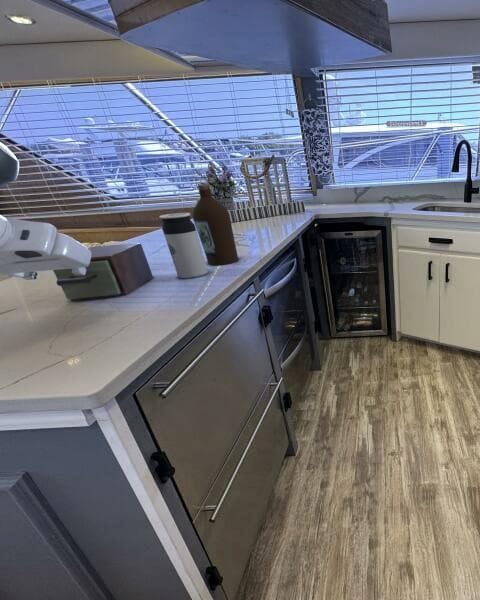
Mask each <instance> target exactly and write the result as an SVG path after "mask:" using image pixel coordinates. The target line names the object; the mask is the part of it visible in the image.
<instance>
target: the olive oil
mask: <svg viewBox="0 0 480 600" xmlns="http://www.w3.org/2000/svg"><path fill="white" fill-rule="evenodd" d="M197 188H198V194H199V200H198V201H197V203H196V205H195V206H194V208H193V210H192V220H193V224H194V225H195V228H196V231H197V235H198V238H199V241H200V244H201V247H202V250H203V251H204V252H203V253H204V255H205V258H206V260H207V261H206V262H207V264H208V265H210V266H221V265H228V264H232V263H236V262H237V261H238V260H239V256H238V250H237V246H236V241H235V236H234V231H233V226H232V221H231V220H232V219H231V215H230V212H229V210H228V209H227V207H226V206H224V204H222V203H221V202H219V201H218V200H217V199H215V197H213V194H212V190H211V188H210V185H209V184H198V185H197Z"/></svg>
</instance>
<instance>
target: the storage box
mask: <svg viewBox="0 0 480 600" xmlns="http://www.w3.org/2000/svg"><path fill="white" fill-rule="evenodd" d="M87 248H88V249H89V250H90V251H91V260H90V261H92V260H104V259H108V260H109V262H110V265H111V267H112V270H113V272H114V274H115V277H116V279H117V282H118V284H119V286H120V289H121V290H120V291H121V293H120V294H117V295H107V296H97V297H87V298H77V299H70V301H79V300H90V299H99V298H109V297H119V296H127V295H128V294H130V293H131V292H133V291H135V290H136V289H138V288H140V287H141V286H142V285H143V284H146V283H147V282H148V281H150V280H152V279H153V278H154V276H153V273H152V269H151V267H150V265H149V264H150V263H149V262H148V259H147V257H146V253H145V251H144V248H143V245H142V242H135V243H124V244H123V243H122V244H121V243H120V244H108V245H97V246H90V247H87Z"/></svg>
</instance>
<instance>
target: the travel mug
mask: <svg viewBox="0 0 480 600" xmlns="http://www.w3.org/2000/svg"><path fill="white" fill-rule="evenodd" d="M159 219H161V221H162V227H161V229H162V232H163V235H164V238H165V241H166V245H167V247H168V250H169V254H170V256H171V259H172V263H173V265H174V269H175V271H176V275H177V277H178V278H180V279H195V278H198V277H201V276H205V275H206V274H207V273H208V272H209V269H208V265H207V263H206V262H207V261H206V259H205V256H204V255H205V254H204V252H203V248H202V244H201V241H200V237H199V234H198V232H197V229H196V226H195V223H194V221H192V219H191V213H190V212H177V213H176V212H175V213H168V214H167V213H166V214H161V215H159Z"/></svg>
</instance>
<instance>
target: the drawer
mask: <svg viewBox="0 0 480 600" xmlns="http://www.w3.org/2000/svg"><path fill="white" fill-rule="evenodd" d="M84 268H86V274H85V275H78V276H76V274H73V273H72V270H73V269H59V270H52V272H53V273H54V275H55V277H56V279H57V280H56V285H57V286H59V287H61V289H62V292H63V294H64V295H65V297H66V299H67V300H71V299H77V298H87V297H97V296H107V295H117V294H120V293H121V291H120V290H121V289H120V286H119V284H118V282H117V279H116V277H115V274H114V272H113V270H112V267H111V265H110V262H109V260H108V259H104V260H92V261H90V264H89V266H88V267H84Z"/></svg>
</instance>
